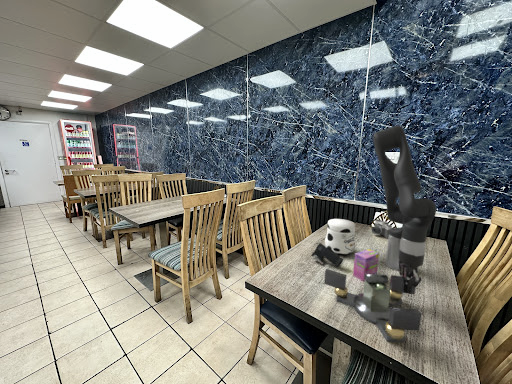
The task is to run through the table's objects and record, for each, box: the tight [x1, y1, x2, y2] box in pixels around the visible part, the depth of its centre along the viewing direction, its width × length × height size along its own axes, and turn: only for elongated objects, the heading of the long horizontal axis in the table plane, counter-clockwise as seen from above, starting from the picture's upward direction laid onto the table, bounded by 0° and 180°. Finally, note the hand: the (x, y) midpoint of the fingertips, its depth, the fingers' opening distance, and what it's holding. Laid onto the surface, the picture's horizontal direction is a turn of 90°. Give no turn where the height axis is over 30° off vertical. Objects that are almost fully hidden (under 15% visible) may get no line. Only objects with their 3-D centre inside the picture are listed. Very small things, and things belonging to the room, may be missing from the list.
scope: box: [310, 242, 344, 268], centre depth 108 cm, size 8×14×10 cm, turn 42°
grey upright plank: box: [323, 268, 349, 297], centre depth 82 cm, size 9×5×8 cm, turn 56°
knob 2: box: [385, 307, 422, 340], centre depth 62 cm, size 9×5×8 cm, turn 86°
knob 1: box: [387, 274, 416, 300], centre depth 79 cm, size 9×5×8 cm, turn 77°
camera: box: [371, 219, 393, 239], centre depth 148 cm, size 16×10×10 cm, turn 1°
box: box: [352, 248, 380, 282], centre depth 96 cm, size 10×6×12 cm, turn 117°
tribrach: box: [336, 273, 406, 343], centre depth 72 cm, size 25×22×14 cm
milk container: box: [324, 218, 356, 255], centre depth 122 cm, size 17×17×18 cm
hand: (406, 290), depth 78 cm, fingers closed on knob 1, 2 cm apart
